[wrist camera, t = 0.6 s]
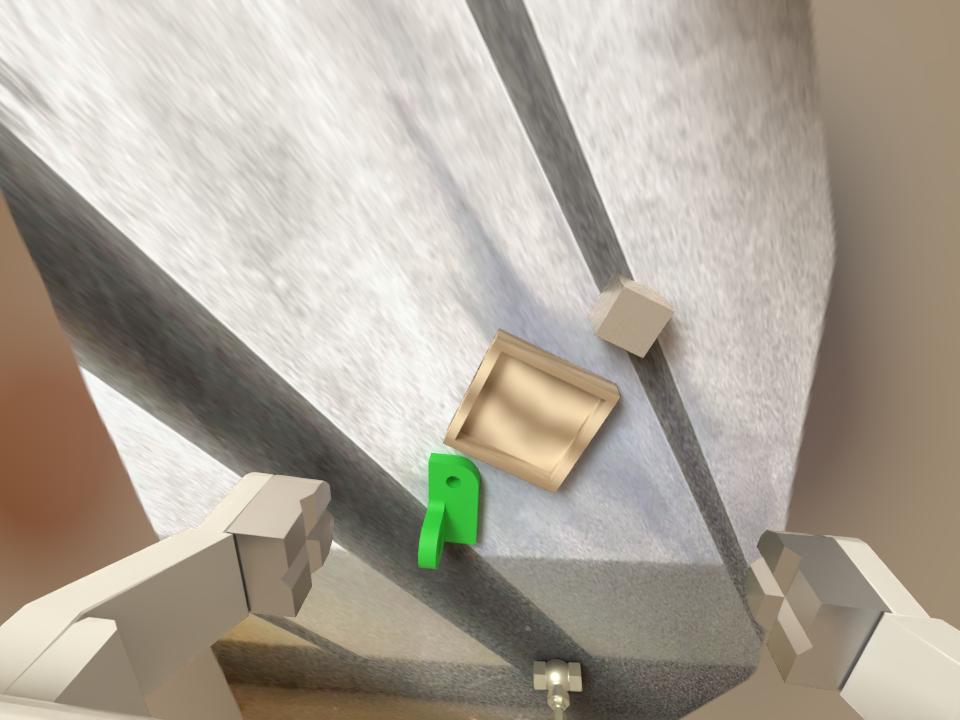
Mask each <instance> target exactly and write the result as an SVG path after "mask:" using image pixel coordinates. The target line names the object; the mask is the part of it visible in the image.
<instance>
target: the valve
mask: <svg viewBox="0 0 960 720" xmlns="http://www.w3.org/2000/svg"><path fill="white" fill-rule="evenodd" d="M534 689H535V690H549V692H548V694H547V702H548V705H549V706H550V707H551V708H552V709H553V710H554V711H553V712H552V720H566V713H565V712H564V710H565V709H566V708H567V707H568V706H569V704H570V702H569V694H568V693H567V691H569V690H570V691H579V692H581V691H582V681H581V667H580V663H571V662H568V663H566V662H565V661H563V660H560V659H552V660H550V661H548V662H546V663H545V662H542V661H534Z"/></svg>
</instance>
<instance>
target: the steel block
mask: <svg viewBox="0 0 960 720" xmlns="http://www.w3.org/2000/svg"><path fill="white" fill-rule="evenodd" d="M674 312H675V311H674V310H673V309H672V308H671V307H670V305H669V304H668V303H667V302H666V301H665V300H664V298H663V297H662V296H661V295H660V294H659V293H658V292H656V291H654V290H652V289H650V288H648V287H646V286H644V285H642V284H640V283H638V282H636V281H634V280H632V279H630V278H628V277H626V276H624V275H622V274H620V273H618V272H616V271H614V272H613V274H612V275H611V277H610V279H609V280H608V282H607V284H606V285H605V287H604V289H603V290H602V292H601V294H600V295H599V297H598V299H597V300H596V302H595V304H594V306H593V307H592V309H591V311H590V312H589V314H588V315H589V318H590V322H591V325H592V328H593V331H594V334H595V335H596V336H598V337H600V338H602V339H604V340H606V341H608V342H610V343H612V344H615V345H617V346H619V347H621V348H623V349H625V350H627V351H629V352H631V353H633V354H635V355H637V356H640V357H642V358H643V357H644V356H645V354H646V353H647V352H648V350H649V349H650V347H651V346H652V344H653V343H654V341H655V340H656V338H657V337H658V335H659V334H660V332H661V331H662V329H663V328H664V326H665V325H666V324H667V322H668V321H669V319H670V318H671V316H672V315H673V313H674Z"/></svg>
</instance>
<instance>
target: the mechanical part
mask: <svg viewBox="0 0 960 720" xmlns="http://www.w3.org/2000/svg"><path fill="white" fill-rule="evenodd" d="M450 476H455V477H457V478H459V479H453V478H452V477H450ZM479 488H480V473H479V470H478V468H477V467H476V465H475V464H474V463H473V462H472V461H470V460H469V459H467V458H465V457H462V456H457V455H447V454H437V453H431V456H430V459H429V503H428V509H427V513H426V517H425V520H424V523H423V527H422V531H421V536H420V542H419V552H418V565H419V567H422V568H431V569H437V568H438V566H439V563H440V559H441V554H442V550H443V546H444V542H445V541H446V542H455V543H464V544H473V545H476V540H477V531H478V510H479Z"/></svg>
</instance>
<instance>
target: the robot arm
mask: <svg viewBox="0 0 960 720" xmlns="http://www.w3.org/2000/svg"><path fill="white" fill-rule="evenodd" d="M330 499H331V495H330V487H329V484H328V483H327V482H325V481H320V480H313V479H305V478H298V477H290V476H283V475H272V474H264V473H257V472H252V473H249V474H246V475H245V476H244V477H243V478H242V479H241V480H240V481H239V482H238V484H237V485H236V486H235V487H234V488H233V489H232V490H231V491H230V492H229V493H228V494H227V496H226V497H225V498H224V499H223V500H222V501H221V502H220V503H219V504H218V505H217V506H216V508H215V509H214V510H213V511H212V512H211V513H210V514H209V515H208V516H207V517H206V518H205V520H204V521H203V522H202V523H201V524H200V525H199V526H198V527H197V528H196V529H185V530H183V531H181V532H179V533H177V534H175V535H173V536H171V537H168V538H166V539H164V540H162V541H160V542H158V543H156V544H154V545H152V546H149V547H147V548H145V549H143V550H141V551H139V552H137V553H134V554H132V555H130V556H128V557H126V558H124V559H122V560H120V561H118V562H115V563H113V564H112V565H109V566H107V567H105V568H103V569H101V570H99V571H97V572H94V573H92V574H90V575H88V576H86V577H84V578H81V579H79V580H77V581H75V582H73V583H71V584H69V585H67V586H65V587H62V588H60V589H58V590H56V591H54V592H52V593H50V594H48V595H45V596H43V597H42V598H39V599H37V600H35V601H33V602H31V603H28V604H26V605H25V606H24V607H22V608H21V610H19V611H18V612H17V613H16V614H14V615H13V616H12V617H11V618H10V619H9V620H8V621H6V622H5V623H4V624H3V625H2V626H1V627H0V720H163V719H156V718H151V715H150V713H149V710H148V707H147V705H146V702H145V699H144V698H145V697H147V696H148V695H149V694H150V693H152V692H153V691H154V690H156V689H157V688H158V687H159V686H161V685H162V684H163V683H164V682H166V681H167V680H168V679H169V678H171V677H172V676H173V675H174V674H176V673H177V672H178V671H180V670H181V669H182V668H183V667H185V666H186V665H187V664H188V663H190V662H191V661H192V660H193V659H195V658H196V657H197V656H199V655H200V654H201V653H202V652H204V651H205V650H206V649H207V648H209V647H210V646H211V645H212V644H214V643H215V642H216V641H217V640H219V639H220V638H221V637H223V636H224V635H225V634H226V633H228V632H229V631H230V630H231V629H233V628H234V627H235V626H236V625H238V624H239V623H240V622H241V621H243V620H244V619H245V618H247V617H248V616H249V613H258V614H268V615H277V616H287V617H296V616H297V614H298V612H299V610H300V608H301V606H302V604H303V602H304V600H305V599H306V597H307V595H308V593H309V591H310V589H311V587H312V582H311V574H312V573H313V572H315V571H316V570H318V569H319V568H321V567H322V566H323V564H324V562H325V560H326V558H327V556H328V554H329V550H330V546H331V543H332V539H333V528H334V526H333V516H332V515H331V514H330V513H329V512H328V511H327V509H326V506H327V505H328V503H329V501H330ZM757 548H758V549H759V551H760V553H761V555H762V557H761V558H760V559H758V560H757V561H755V562H754V563H752V564H751V565H750V567H749V570H748V573H747V577H746V597H747V601H748V605H749V608H750V610H751V613H752V615H753V617H754V619H755V621H756V622H757V623H758V624H760V625H761V626H762V627H763V628H764V629H765V630H766V631H768V632H769V633H770V635H769V638H768V641H767V644H766V645H767V647H768V649H769V651H770V653H771V655H772V657H773V659H774V662H775V664H776V666H777V668H778V670H779V672H780V674H781V676H782V678H783V680H784V682H785V683H788V684H795V685H801V686H807V687H813V688H819V689H825V690H832V691H838V692H841V693H840V695H841V696H842V697H843V698H844V699H845V700H846V701H847V702H848V703H849V704H850V705H851V706H852V707H853V708H854V709H855V710H856V711H857V712H858V713H859V714H860V715H861V716H862V717H863V718H864V719H865V720H960V631H959V630H957V629H955V628H954V627H952V626H951V625H949V624H948V623H946V622H944V621H943V620H940V619H933V618H930V617H929V616H928V614H927V613H926V612H925V611H924V610H923V609H922V607H921V606H920V605H919V604H918V603H917V602H916V601H915V599H914V598H913V597H912V596H911V595H910V593H909V592H908V591H907V590H906V589H905V588H904V587H903V585H902V584H901V583H900V582H899V581H898V579H897V578H896V577H895V576H894V575H893V574H892V572H891V571H890V570H889V569H888V568H887V567H886V566H885V564H884V563H883V562H882V561H881V560H880V558H878V556H877V555H876V554H875V553H874V552H873V550H872V549H871V548H870V547H869V546H868V545H867V544H866V543H865V542H863V541H861V540H860V539H858V538H851V537H840V536H828V535H827V536H820V535H812V534H802V533H793V532H783V531H773V530H766V531H765V532H764V533H763V534H762V535H761V537H760V540H759V542H758V545H757Z"/></svg>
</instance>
